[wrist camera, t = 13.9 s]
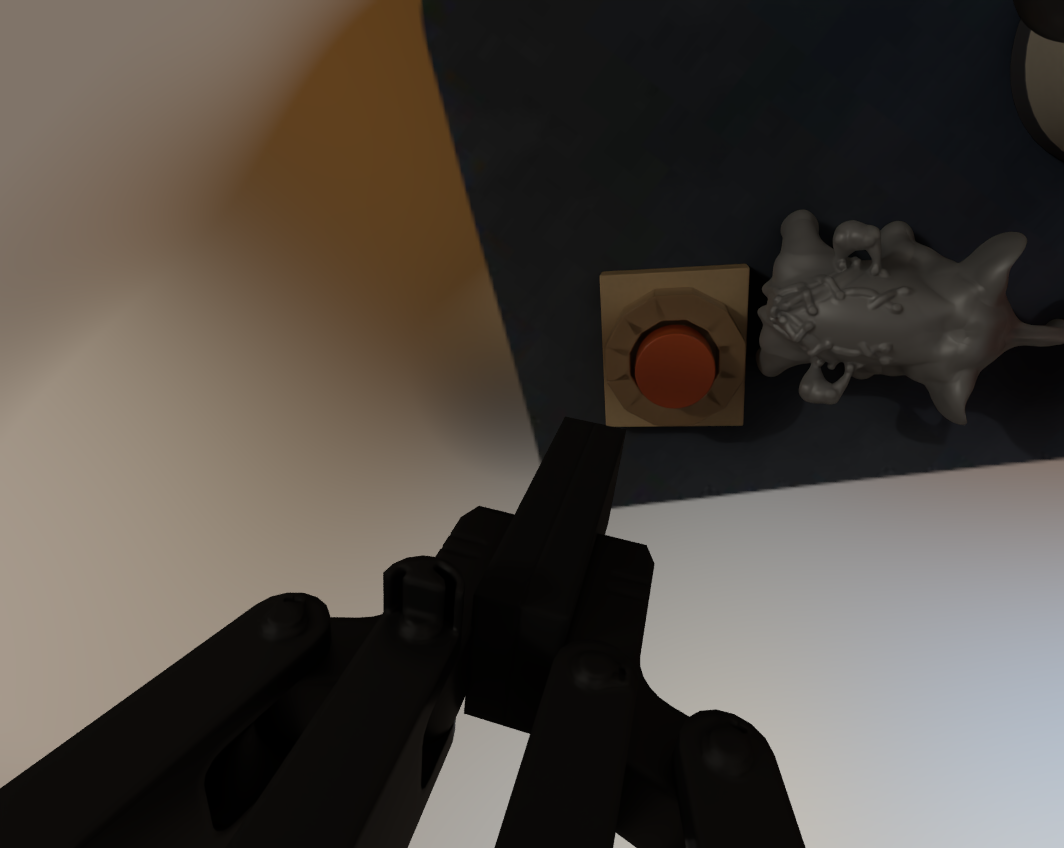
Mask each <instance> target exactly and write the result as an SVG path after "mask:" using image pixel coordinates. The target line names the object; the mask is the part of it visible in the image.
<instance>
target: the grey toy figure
mask: <svg viewBox="0 0 1064 848" xmlns="http://www.w3.org/2000/svg"><path fill="white" fill-rule="evenodd" d="M818 232H819V224H818V221H817V219H816V218H815V216H814V215H813V214H812V213H811V212H809V211H807V210H797V211H795V212H793V213H791V214H790V215H789V216H787V217H786V218H785V220H784V221H783V223H782V225H781V235H782V237H783V241H782V248H781V252H780V254H779V255H778V257H777V258H776V260H775V263H774V267H773V277H772V278H771V279H770V280H769V281H768V282H767V283H765V284H764V286H763V287H762V292H763V293H764V294H765V296H766V297H767V298H768V301H767V305H765V306H762V307H761V308H759V309H758V315H759V317H760V319H761V321H762V323H763V328H762V330H761V333H760V338H759V343H760V348H759V349H758V350H757V352H756V362H757V365H758V368H759V370H760V371H761V372H762V373H763V374H764V375H765V376H768V377H775V376H777V375H779V374H781V373H782V372H783V371H784V370H786V369H788V368H790V367H792V366H795V365H799V364H807V363H811V366H810V368H809V370H808V371H807V372H806V374H805V375H804V377H803V378H802V380H801V383H800V386H799V394H800V396H801V397H802V398H803V399H804V400H805V401H807V402H810V403H825V404H835V403H837V402H838V401H839V399H840V397H841V395H842V394H843V392H844V390H845V389H846V387H847V385H848V383H849V380H850V378H851V376H852V377H854V378H856V379H867V378H869V377H871V376H873V375H874V374H883V375H887V376H901V375H906V376H907V377H909V378H911V379H912V380H914V381H916V382H919V383H922V384H924V385H925V386H926V388H927V389H928V391H929V393H930V396H931V398H932V401H933V403H934V404H935V406H936V408H937V410H938V411H939V412H940V413H941V414H942V415H943V416H944V417H945V418H947V419H948V420H950V421H952V422H954V423H956V424H959V425H965V424H966V423H967V420H966V414H965V405H966V402H967V400H968V398H969V396H970V394H971V392H972V391H973V389H974V386H975V382H976V379H977V377H978V375H979V373H980V372H981V370H982V369H984V368H985V367H986V366H987V365H989V364H990V363H992V362H993V361H994V360H995V359H997V358H998V357H999V356H1000V355H1001V354H1002V353H1004V352H1005V351H1007V350H1008V349H1010V348H1013V347H1016V346H1022V345H1028V346H1039V347H1042V346H1053V345H1061V344H1064V320H1062V319H1054V320H1051V321H1049V322H1048V323H1047V324H1046V326H1038V325H1029V324H1026V323H1023V322H1021V321H1020V320H1019V319H1018V318H1017V317H1016V315H1015V314H1014V312H1013V310H1012V307H1011V305H1010V304H1009V302H1008V299H1007V297H1006V293H1005V292H1006V289H1007V286H1008V276H1009V271H1010V269H1011V267H1012V265H1013V264H1014V263H1015V261H1016V260H1017V259H1018V258H1019V256H1020V255H1021V253H1022V252H1023V250H1024V249H1025V246H1026V244H1027V238H1026V237H1025V236H1024V235H1023V234H1022V233H1019V232H1006V233H1002V234H998V235H996V236H994V237H992V238H990V239H988V240H987V241H985V242H984V243H983V244H982V245H980V246H979V247H978V248H977V249H976V250H975V251H974V252H973V253H972V254H971V255H969V256H968V257H967V258H966V259H965V260H963V261H962V262H960V263H956V262H955V261H953V260H950V259H947V258H945V257H943V256H941V255H940V254H938V253H937V252H936V251H934V250H933V249H931V248H929V247H927V246H924V245H921V244H919V243H917V242H916V241H915V238H914V234H913V231H912V229H911V227H910V226H909V225H908V224H907V223H905V222H902V221H894V222H891V223H889V224H887V225H886V226H885V227H883V228H882V229H881V230H879V229H878V228H877V227H875V226H872V225H866V224H864V223H861V222H858V221H856V220H850V221H846V222H844V223H842V224H840V225H839V226H838V227H837V228H836V230H835V232H834V236H833V248H834V249H833V248H831V247H830V246H828V245H827V244H825V243H824V242H823V241H822V240H821V238H820V236H819V234H818ZM857 250H866V251H867V252H868V253H869V255H870V256H871V259H872V260H863V261H861V259H858V257H852V258H849V257H848V256H849V255H850V254H851V253H853V252H854V251H857ZM825 362H828V365H827V367H828V368H829V369H831V370H833V369H835V367H836V365H837V364H838V363H840V362H843V363H844V365H845V372H844V375H843V376H842V377H841V378H840V379H839V380H838V381H837V382H835V383H833V384H831V383H830V382H828V381H827V380H826V379H825V378H824V376H823V374H822V371H821V366H822V365H823V364H824V363H825Z"/></svg>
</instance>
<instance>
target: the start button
mask: <svg viewBox="0 0 1064 848" xmlns="http://www.w3.org/2000/svg"><path fill="white" fill-rule="evenodd" d="M715 373H716V367H715V361H714V357H713V354H712V350H711V347H710V345H709V343H708V342H707V340H706V339H705V338H704V336H703V335H702V334H700V333H699V332H698V331H696V330H695V329H693V328H690V327H688V326H684V325H667V326H663V327H660V328H658V329H656V330H654V331H653V332H651V333H650V334H649V335H648V336H647V337H646V338H645V339H644V340H643V341H642V343H641V344H640V347H639V349H638V352H637V356H636V364H635V378H636V382H637V385H638V387H639V389H640V391H641V392H642V394H643V395H644V396H645V397H646V398H647V399H648V400H650V401H651V402H652V403H654V404H656V405H658V406H661V407H665V408H673V409H676V408H684V407H687V406H690V405H692V404H695V403H696V402H698V401H699V400H701V399H702V398H703V397H704V396H705V395H706V394H707V393H708V391H709V390H710V388H711V387H712V385H713V382H714V379H715Z"/></svg>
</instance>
